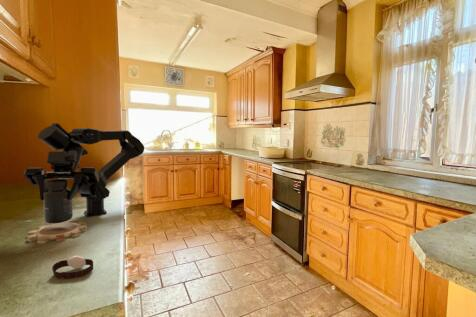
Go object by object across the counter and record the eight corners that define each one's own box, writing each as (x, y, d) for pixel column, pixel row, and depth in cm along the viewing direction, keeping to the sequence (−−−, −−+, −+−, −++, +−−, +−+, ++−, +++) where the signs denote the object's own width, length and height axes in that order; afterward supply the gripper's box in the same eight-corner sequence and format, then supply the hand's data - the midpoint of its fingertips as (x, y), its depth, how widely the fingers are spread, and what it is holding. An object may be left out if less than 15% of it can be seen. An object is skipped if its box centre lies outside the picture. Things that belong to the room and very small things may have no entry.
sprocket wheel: (28, 230, 74) (28, 226, 74) (83, 221, 83) (83, 217, 83) (26, 248, 63) (26, 242, 62) (90, 235, 72) (90, 230, 72)
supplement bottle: (38, 224, 69) (35, 182, 68) (54, 216, 76) (52, 178, 74) (63, 224, 69) (61, 182, 68) (77, 216, 76) (75, 178, 75)
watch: (97, 267, 55) (97, 251, 55) (88, 279, 50) (87, 262, 50) (59, 269, 54) (59, 253, 53) (46, 281, 49) (45, 264, 49)
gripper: (25, 141, 72) (2, 185, 62) (95, 141, 76) (83, 183, 67) (40, 164, 80) (22, 206, 71) (103, 163, 85) (94, 203, 75)
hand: (55, 199), depth 71 cm, fingers closed on supplement bottle, 7 cm apart
